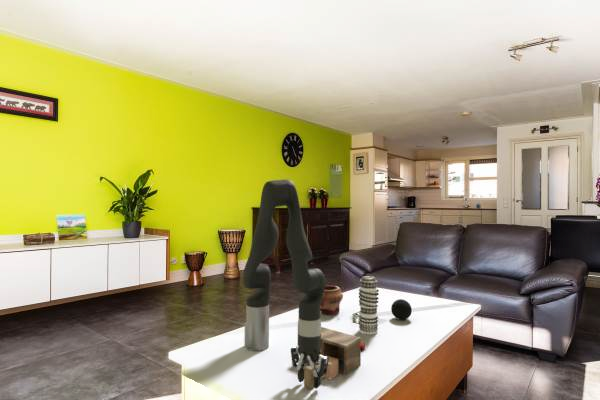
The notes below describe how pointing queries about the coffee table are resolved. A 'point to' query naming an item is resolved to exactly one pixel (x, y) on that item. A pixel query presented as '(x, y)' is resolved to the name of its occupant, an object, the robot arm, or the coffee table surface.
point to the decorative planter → (331, 300)
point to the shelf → (341, 348)
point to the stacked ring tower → (368, 305)
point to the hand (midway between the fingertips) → (308, 383)
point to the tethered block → (331, 372)
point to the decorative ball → (401, 309)
